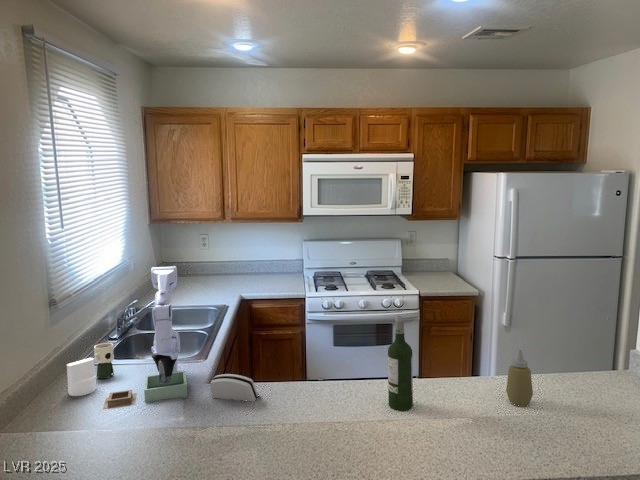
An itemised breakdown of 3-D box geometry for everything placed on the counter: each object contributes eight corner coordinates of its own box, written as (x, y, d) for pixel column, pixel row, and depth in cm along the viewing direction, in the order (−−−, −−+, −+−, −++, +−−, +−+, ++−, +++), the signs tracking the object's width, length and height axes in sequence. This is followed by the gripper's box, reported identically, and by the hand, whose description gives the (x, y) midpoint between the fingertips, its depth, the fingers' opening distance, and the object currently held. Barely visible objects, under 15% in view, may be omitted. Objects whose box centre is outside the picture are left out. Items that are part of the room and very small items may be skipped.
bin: (146, 389, 167) (145, 376, 167) (185, 383, 172) (184, 370, 171) (144, 404, 154) (144, 390, 154) (187, 397, 158) (186, 384, 158)
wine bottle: (384, 403, 150) (382, 315, 148) (403, 399, 153) (403, 312, 151) (397, 413, 143) (396, 320, 141) (417, 408, 146) (416, 317, 144)
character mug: (105, 382, 175) (103, 349, 174) (88, 381, 176) (86, 349, 175) (121, 372, 186) (119, 341, 185) (105, 371, 187) (104, 341, 186)
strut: (167, 378, 165) (166, 357, 164) (173, 380, 162) (171, 359, 162) (157, 381, 162) (156, 360, 162) (162, 384, 160) (161, 362, 159)
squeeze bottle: (512, 396, 154) (512, 344, 153) (536, 403, 148) (537, 349, 147) (501, 403, 148) (502, 350, 147) (527, 411, 142) (527, 355, 141)
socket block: (106, 400, 158) (105, 392, 158) (136, 395, 161) (136, 387, 161) (102, 412, 149) (102, 403, 148) (135, 407, 152) (134, 398, 152)
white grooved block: (88, 386, 171) (86, 356, 170) (101, 392, 166) (99, 360, 165) (63, 395, 164) (61, 363, 163) (76, 400, 158) (74, 367, 157)
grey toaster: (260, 396, 159) (255, 373, 155) (255, 405, 155) (250, 382, 151) (218, 391, 163) (212, 369, 159) (212, 401, 159) (206, 378, 155)
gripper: (142, 337, 163) (144, 373, 164) (164, 344, 154) (166, 382, 155) (160, 332, 168) (162, 368, 169) (182, 339, 159) (184, 376, 160)
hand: (165, 374), depth 162 cm, fingers closed on strut, 4 cm apart
